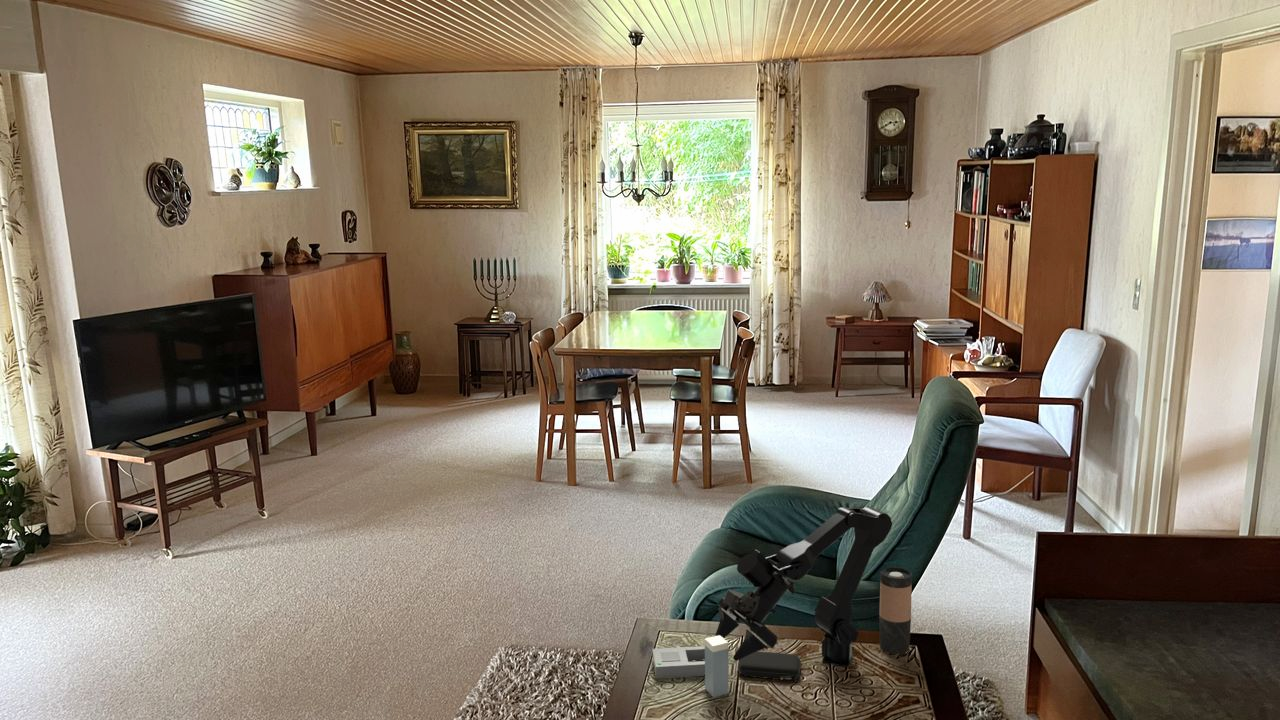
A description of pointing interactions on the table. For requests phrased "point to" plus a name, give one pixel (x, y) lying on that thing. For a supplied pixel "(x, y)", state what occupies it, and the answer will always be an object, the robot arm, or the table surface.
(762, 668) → the carrying case or bag
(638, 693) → the table surface
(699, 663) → the grey holder base
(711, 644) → the blue-grey square block
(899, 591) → the travel mug
